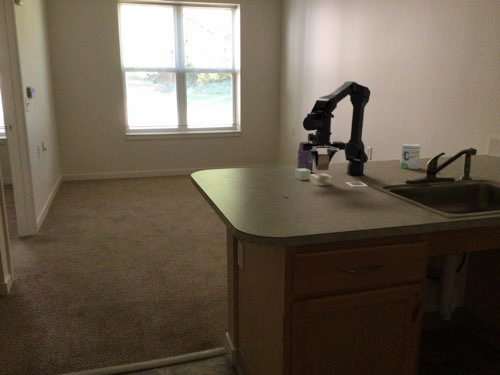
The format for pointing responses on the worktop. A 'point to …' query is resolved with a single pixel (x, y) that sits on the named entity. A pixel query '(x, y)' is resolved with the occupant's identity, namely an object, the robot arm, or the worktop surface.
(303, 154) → the beverage can
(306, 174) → the sage block
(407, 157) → the ink box
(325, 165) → the walnut block
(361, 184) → the swatch
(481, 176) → the worktop surface
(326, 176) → the beech base
